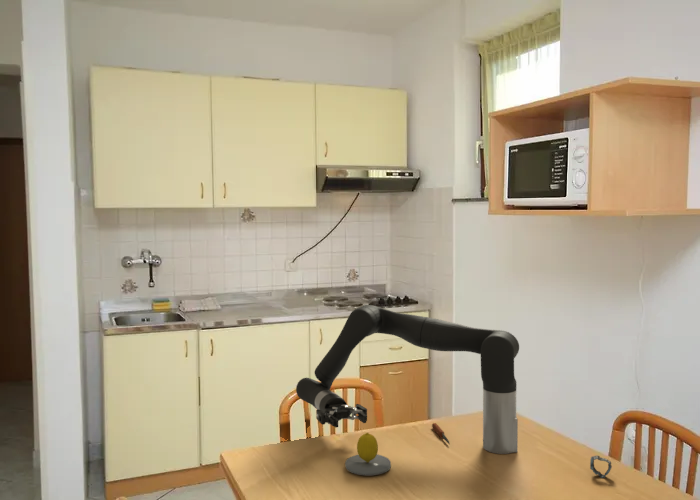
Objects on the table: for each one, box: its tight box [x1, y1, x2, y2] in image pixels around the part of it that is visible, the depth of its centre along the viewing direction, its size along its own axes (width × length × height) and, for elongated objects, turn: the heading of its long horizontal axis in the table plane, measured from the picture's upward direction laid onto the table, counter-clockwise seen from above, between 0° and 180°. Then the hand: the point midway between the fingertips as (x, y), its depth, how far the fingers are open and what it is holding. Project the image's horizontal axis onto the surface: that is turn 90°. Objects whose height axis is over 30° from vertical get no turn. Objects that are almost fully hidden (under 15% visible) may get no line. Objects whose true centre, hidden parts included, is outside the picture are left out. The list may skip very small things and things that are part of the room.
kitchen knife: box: [431, 422, 450, 445], centre depth 186 cm, size 16×1×2 cm, turn 9°
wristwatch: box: [589, 455, 613, 479], centre depth 157 cm, size 3×5×5 cm, turn 55°
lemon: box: [356, 432, 379, 463], centre depth 164 cm, size 6×6×8 cm
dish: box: [344, 454, 392, 477], centre depth 165 cm, size 12×12×2 cm
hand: (351, 421), depth 174 cm, fingers open, 8 cm apart
